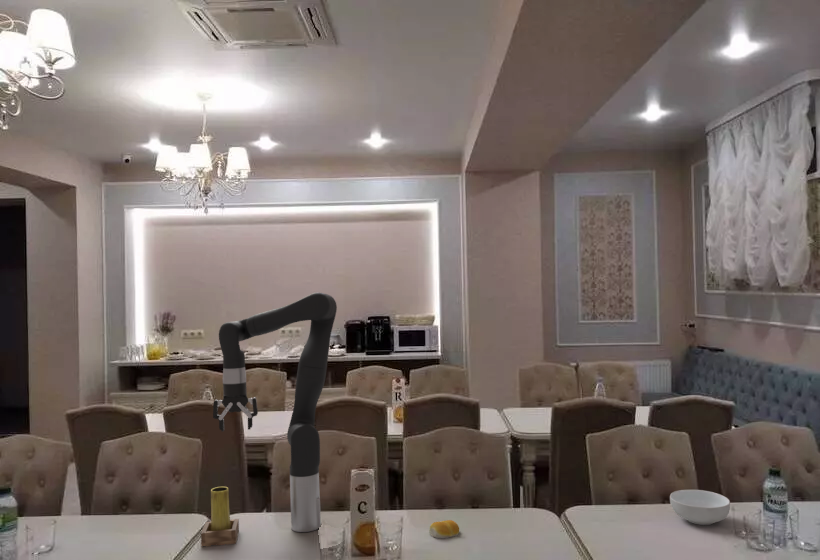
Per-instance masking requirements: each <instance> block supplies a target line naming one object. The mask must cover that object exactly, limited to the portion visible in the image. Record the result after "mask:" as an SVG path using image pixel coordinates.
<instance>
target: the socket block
mask: <svg viewBox="0 0 820 560" xmlns="http://www.w3.org/2000/svg"><path fill="white" fill-rule="evenodd" d="M239 522H240V519H239V518H234V519H233V518H232V519H230V526H231V529H228V530H217V531H211V521H205V523H204V525H203V527H202V530H201V532H200V541H201V542H200V545H201V546H200V547H201V548H203V547H202V546H206V547H212V546H211V545H216V546H223V545H225V544H226V545H233V544H234V545H235V544H237V540H238V538H239V537H238V536H239V533H240V523H239ZM226 545H225V546H226Z"/></svg>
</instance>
